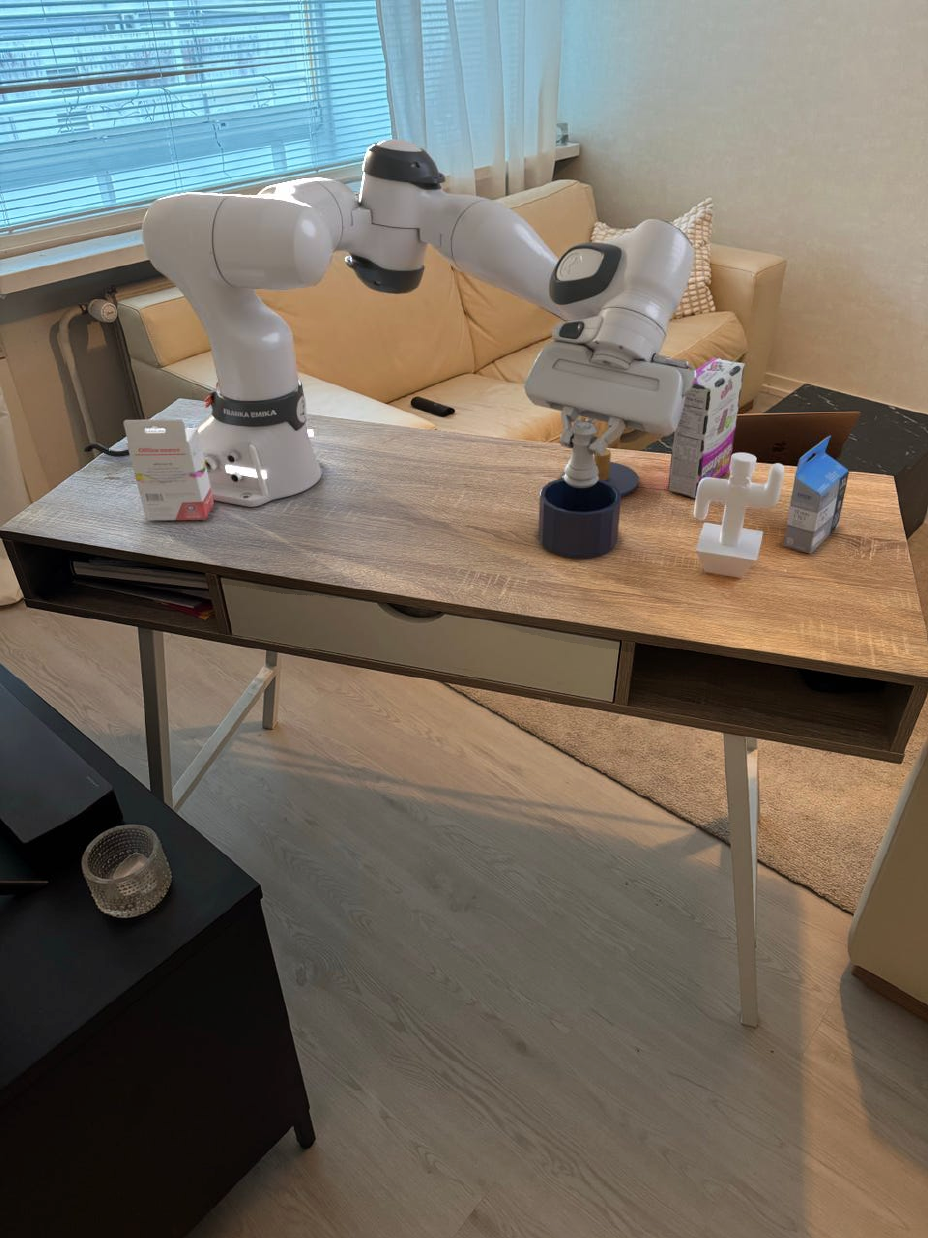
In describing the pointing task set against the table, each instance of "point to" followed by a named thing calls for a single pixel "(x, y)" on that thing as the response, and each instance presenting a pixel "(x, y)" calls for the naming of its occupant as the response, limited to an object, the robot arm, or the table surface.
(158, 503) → the ink cartridge box
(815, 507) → the label tape box
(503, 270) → the robot arm
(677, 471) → the candy bar box
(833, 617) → the table surface
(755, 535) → the figurine
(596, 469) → the rook chess piece
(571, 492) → the tin
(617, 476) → the tin lid
